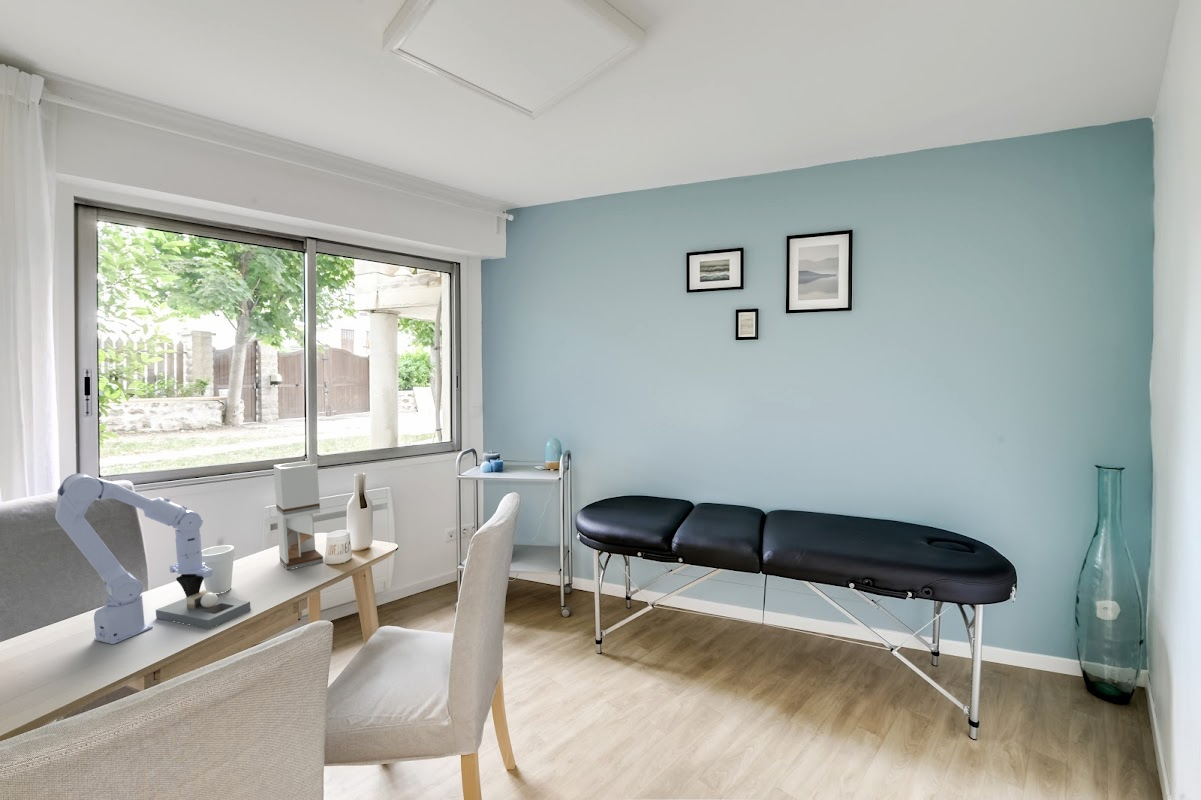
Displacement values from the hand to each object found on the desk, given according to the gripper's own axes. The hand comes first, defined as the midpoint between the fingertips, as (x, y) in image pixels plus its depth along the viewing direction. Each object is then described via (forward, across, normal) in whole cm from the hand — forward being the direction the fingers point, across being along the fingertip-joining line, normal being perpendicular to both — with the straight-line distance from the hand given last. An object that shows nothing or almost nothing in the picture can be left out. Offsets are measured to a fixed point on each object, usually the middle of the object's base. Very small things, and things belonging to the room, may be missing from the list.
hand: (193, 598), depth 160 cm
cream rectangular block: (+1, -3, 0) cm, 3 cm away
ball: (-1, -7, 0) cm, 7 cm away
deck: (+4, -4, 0) cm, 6 cm away
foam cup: (+4, +8, -13) cm, 16 cm away
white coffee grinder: (+4, +4, -40) cm, 40 cm away
